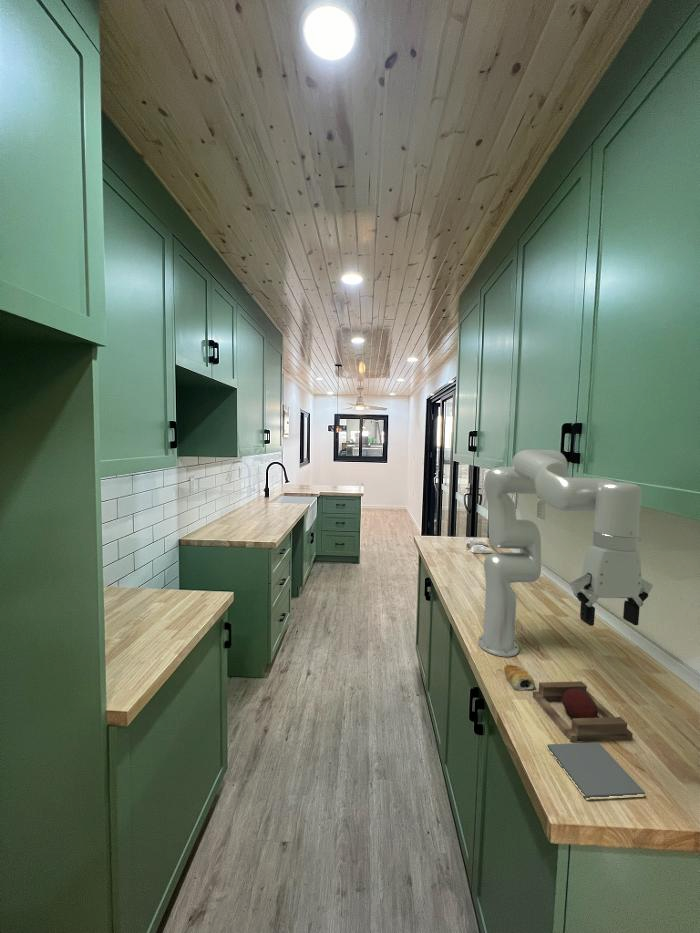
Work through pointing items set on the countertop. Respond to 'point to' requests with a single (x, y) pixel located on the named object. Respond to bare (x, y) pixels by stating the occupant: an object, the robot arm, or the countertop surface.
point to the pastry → (518, 678)
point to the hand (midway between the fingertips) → (608, 622)
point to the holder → (581, 727)
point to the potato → (579, 704)
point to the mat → (594, 770)
